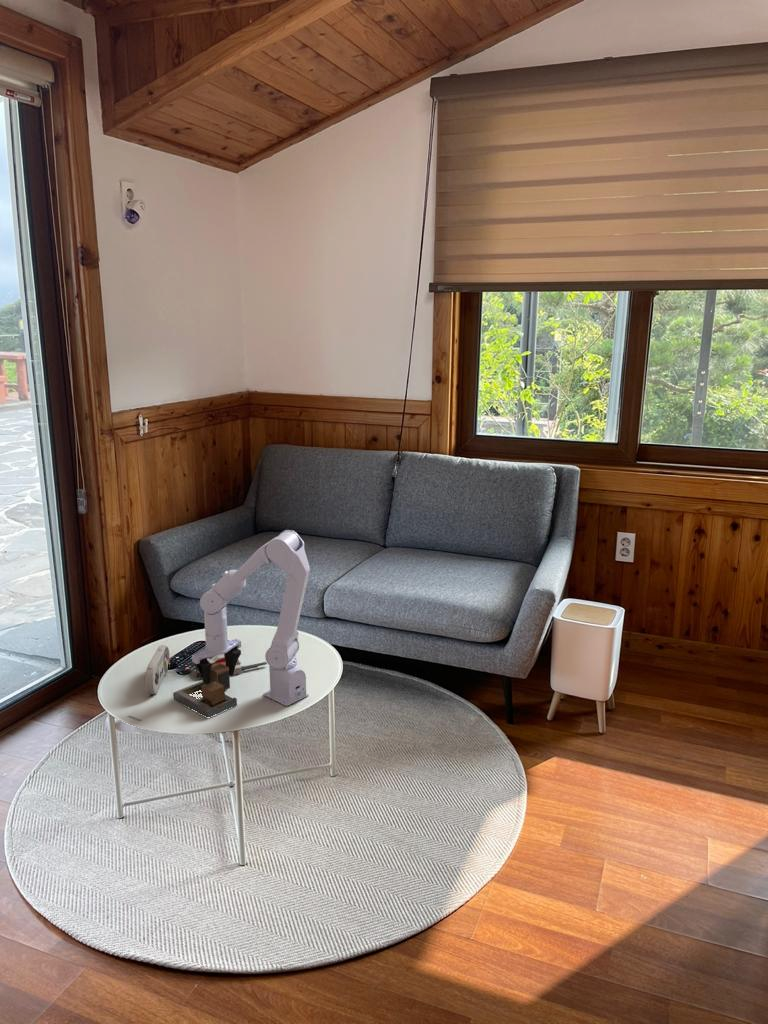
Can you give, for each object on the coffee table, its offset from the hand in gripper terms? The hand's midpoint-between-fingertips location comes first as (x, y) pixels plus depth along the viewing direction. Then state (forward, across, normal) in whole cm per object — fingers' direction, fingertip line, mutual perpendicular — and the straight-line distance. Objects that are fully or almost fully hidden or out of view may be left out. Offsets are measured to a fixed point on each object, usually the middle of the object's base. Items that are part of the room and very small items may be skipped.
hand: (218, 679), depth 207 cm
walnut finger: (+2, 0, 0) cm, 3 cm away
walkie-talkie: (+3, -9, -7) cm, 12 cm away
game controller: (+3, +9, -15) cm, 18 cm away
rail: (+2, +8, +4) cm, 9 cm away
